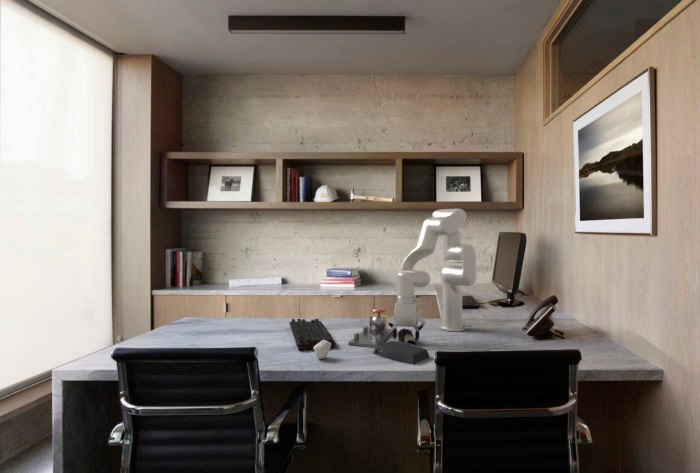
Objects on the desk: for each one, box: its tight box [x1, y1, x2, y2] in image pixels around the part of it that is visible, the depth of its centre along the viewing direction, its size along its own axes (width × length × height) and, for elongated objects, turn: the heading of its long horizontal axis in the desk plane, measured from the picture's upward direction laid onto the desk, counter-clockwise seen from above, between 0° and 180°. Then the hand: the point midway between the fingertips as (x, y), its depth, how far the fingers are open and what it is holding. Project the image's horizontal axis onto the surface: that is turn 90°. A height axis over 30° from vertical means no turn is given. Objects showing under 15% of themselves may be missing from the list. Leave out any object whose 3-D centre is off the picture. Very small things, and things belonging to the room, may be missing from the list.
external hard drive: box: [372, 340, 431, 365], centre depth 156 cm, size 13×19×4 cm
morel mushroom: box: [397, 327, 418, 346], centre depth 173 cm, size 18×7×6 cm, turn 178°
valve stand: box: [348, 307, 393, 349], centre depth 182 cm, size 13×29×11 cm, turn 160°
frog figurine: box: [313, 340, 332, 360], centre depth 153 cm, size 6×7×7 cm
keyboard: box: [289, 318, 337, 352], centre depth 185 cm, size 42×16×5 cm, turn 13°
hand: (405, 339), depth 174 cm, fingers open, 9 cm apart
